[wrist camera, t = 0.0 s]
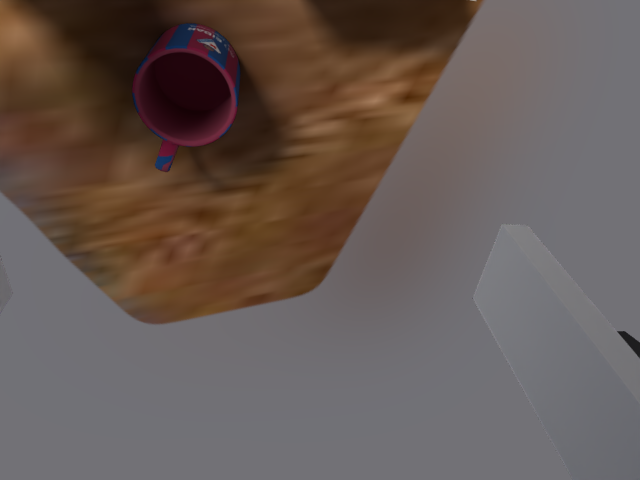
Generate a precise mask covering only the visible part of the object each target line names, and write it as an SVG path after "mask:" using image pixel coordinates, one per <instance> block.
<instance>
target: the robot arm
mask: <svg viewBox="0 0 640 480" xmlns="http://www.w3.org/2000/svg"><path fill="white" fill-rule="evenodd" d="M12 294H13V292H12V289H11V286H10V283H9V280H8V277H7V274H6V271H5V268H4V265H3V263H2V259H1V256H0V314H1V312H2V311H3V309H4V307H5V305H6V304H7V302H8V301H9V299H10V298H11V296H12ZM473 300H474V302H475V304H476V305H477V307H478V309H479V311H480V313H481V314H482V316H483V318H484V320H485V322H486V324H487V325H488V327H489V329H490V331H491V333H492V334H493V336H494V338H495V340H496V342H497V344H498V346H499V347H500V349H501V351H502V353H503V355H504V356H505V358H506V360H507V362H508V364H509V366H510V367H511V369H512V371H513V373H514V375H515V376H516V378H517V380H518V382H519V384H520V386H521V387H522V389H523V391H524V393H525V395H526V396H527V398H528V400H529V402H530V404H531V406H532V407H533V409H534V411H535V413H536V415H537V416H538V418H539V420H540V422H541V424H542V425H543V427H544V429H545V431H546V432H547V435H548V436H549V438H550V440H551V442H552V444H553V446H554V447H555V449H556V451H557V453H558V455H559V456H560V458H561V460H562V462H563V464H564V466H565V467H566V469H567V471H568V473H569V475H570V477H571V478H572V480H640V342H638V341H637V340H635V339H634V338H633V337H632V336H630V335H629V334H628V333H626V332H625V331H616V330H615V329H614V327H613V326H612V325H611V324H610V323H609V321H608V320H607V319H606V318H605V317H604V316H603V315H602V313H601V312H600V311H599V310H598V308H597V307H596V306H595V305H594V304H593V303H592V301H591V300H590V299H589V298H588V297H587V296H586V294H585V293H584V292H583V291H582V289H581V288H580V287H579V286H578V285H577V284H576V282H575V281H574V280H573V279H572V278H571V277H570V275H569V274H568V273H567V272H566V271H565V269H564V268H563V267H562V266H561V265H560V263H559V262H558V261H557V260H556V259H555V258H554V256H553V255H552V254H551V253H550V252H549V250H548V249H547V248H546V247H545V246H544V244H543V243H542V242H541V241H540V240H539V239H538V238H537V236H536V235H535V234H534V233H533V231H532V230H531V229H530V228H529V227H528V226H527V225H510V224H502V225H501V228H500V230H499V233H498V235H497V238H496V240H495V243H494V245H493V248H492V250H491V253H490V255H489V258H488V260H487V263H486V265H485V268H484V271H483V273H482V276H481V278H480V281H479V283H478V286H477V288H476V291H475V293H474V296H473Z"/></svg>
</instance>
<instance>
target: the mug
mask: <svg viewBox="0 0 640 480" xmlns="http://www.w3.org/2000/svg"><path fill="white" fill-rule="evenodd" d="M239 84H240V65H239V61H238V58H237V55H236V53H235V51H234V49H233V48H232V46H231V44H230V43H229V42H228V41H227V40H226V39H225V38H224V37H223V36H222V35H221V34H220V33H218V32H217V31H215V30H213V29H211V28H209V27H207V26H204V25H200V24H188V23H186V24H181V25H177V26H175V27H172V28H170V29H169V30H167V31H166V32H164V33H163V34H162V35H161V36H160V37H159V39H158V40H157V41H156V43H155V44H154V46H153V47H152V49H151V50H150V51H149V53H148V54H147V56H146V57H145V58H144V60H143V61H142V63H141V64H140V66H139V67H138V69H137V71H136V74H135V76H134V80H133V86H132V94H133V100H134V105H135V107H136V110H137V112H138V114H139V116H140V118H141V119H142V121H143V122H144V123H145V124H146V126H147V127H148V128H149V129H150V130H151V131H152V132H153V133H155V134H156V135H157V136H159V137H160V138H162V139H163V142H162V145H161V148H160V151H159V155H158V158H157V161H156V164H155V166H156V168H157V169H159V170H160V171H164V172H168V171H169V170H170V168H171V165H172V162H173V160H174V157H175V154H176V152H177V149H178V147H179V145H180V146H187V147H195V146H202V145H206V144H209V143H212V142H214V141H216V140H217V139H219V138H220V137H222V136H223V135H224V134H225V133H226V132H227V131H228V129H229V128H230V127H231V125H232V123H233V121H234V120H235V116H236V113H237V107H238V96H239Z"/></svg>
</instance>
